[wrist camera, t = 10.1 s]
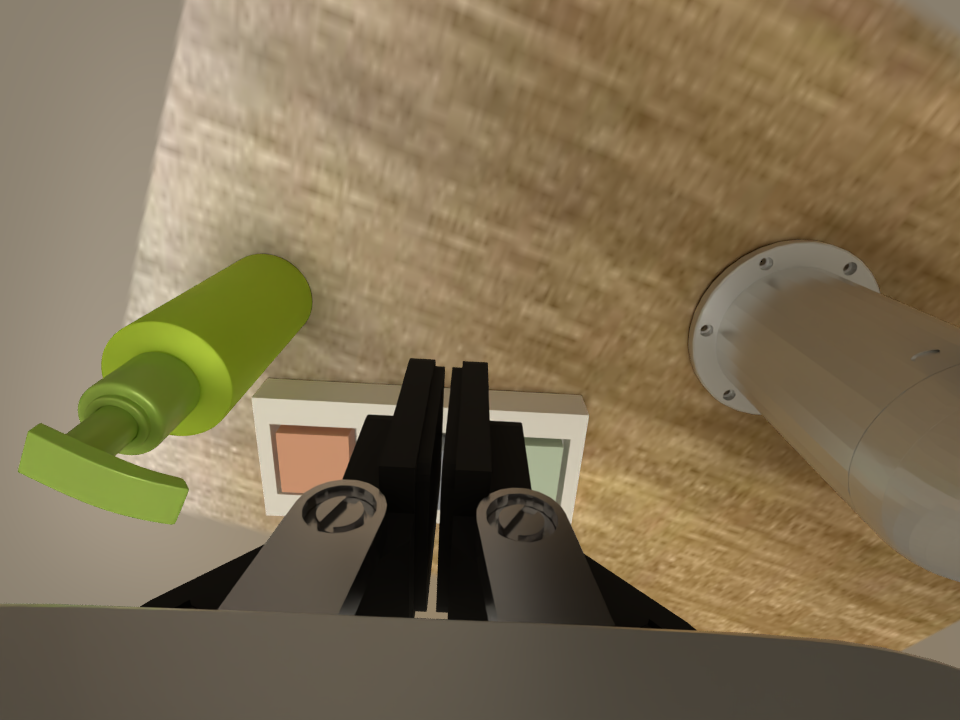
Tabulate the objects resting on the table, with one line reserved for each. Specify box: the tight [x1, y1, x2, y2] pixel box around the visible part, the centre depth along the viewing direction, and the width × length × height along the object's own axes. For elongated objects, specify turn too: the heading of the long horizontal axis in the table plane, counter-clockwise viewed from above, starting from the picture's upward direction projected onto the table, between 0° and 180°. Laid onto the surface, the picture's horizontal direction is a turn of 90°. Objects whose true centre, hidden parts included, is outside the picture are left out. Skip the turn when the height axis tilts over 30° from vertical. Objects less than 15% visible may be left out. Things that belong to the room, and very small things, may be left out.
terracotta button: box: [276, 425, 355, 493], centre depth 39 cm, size 5×5×2 cm
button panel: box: [252, 378, 589, 524], centre depth 40 cm, size 23×10×3 cm, turn 87°
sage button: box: [524, 437, 563, 501], centre depth 40 cm, size 5×5×2 cm
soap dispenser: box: [18, 254, 312, 524], centre depth 28 cm, size 6×7×20 cm
